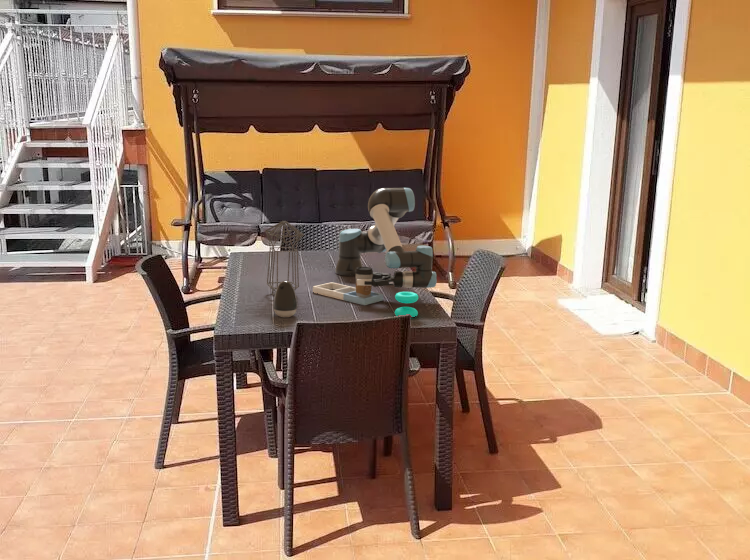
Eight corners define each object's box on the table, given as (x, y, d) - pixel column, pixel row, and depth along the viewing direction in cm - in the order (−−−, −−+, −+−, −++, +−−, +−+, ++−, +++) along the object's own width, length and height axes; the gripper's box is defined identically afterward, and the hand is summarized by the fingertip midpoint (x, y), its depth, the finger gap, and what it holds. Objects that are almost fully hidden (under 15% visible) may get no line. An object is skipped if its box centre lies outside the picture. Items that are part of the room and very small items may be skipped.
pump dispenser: (268, 317, 323) (268, 282, 319) (280, 311, 332) (280, 277, 329) (290, 320, 319) (290, 284, 316) (301, 314, 329) (301, 279, 325)
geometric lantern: (262, 292, 365) (263, 219, 358) (294, 290, 371) (295, 218, 364) (271, 299, 351) (272, 223, 344) (304, 297, 357) (306, 223, 350)
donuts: (412, 290, 334) (422, 295, 325) (411, 312, 337) (421, 318, 328) (391, 291, 330) (401, 297, 321) (390, 314, 333) (400, 320, 324)
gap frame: (331, 288, 377) (331, 282, 376) (383, 300, 356) (383, 294, 355) (312, 292, 367) (312, 286, 366) (364, 305, 346) (364, 298, 345)
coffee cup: (359, 302, 350) (360, 270, 346) (351, 298, 357) (352, 267, 354) (375, 301, 353) (376, 269, 350) (367, 297, 361) (368, 266, 357)
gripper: (405, 293, 343) (357, 293, 341) (399, 281, 367) (354, 281, 365) (405, 277, 341) (357, 277, 340) (400, 266, 365) (355, 265, 364)
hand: (356, 279), depth 352 cm, fingers open, 12 cm apart
